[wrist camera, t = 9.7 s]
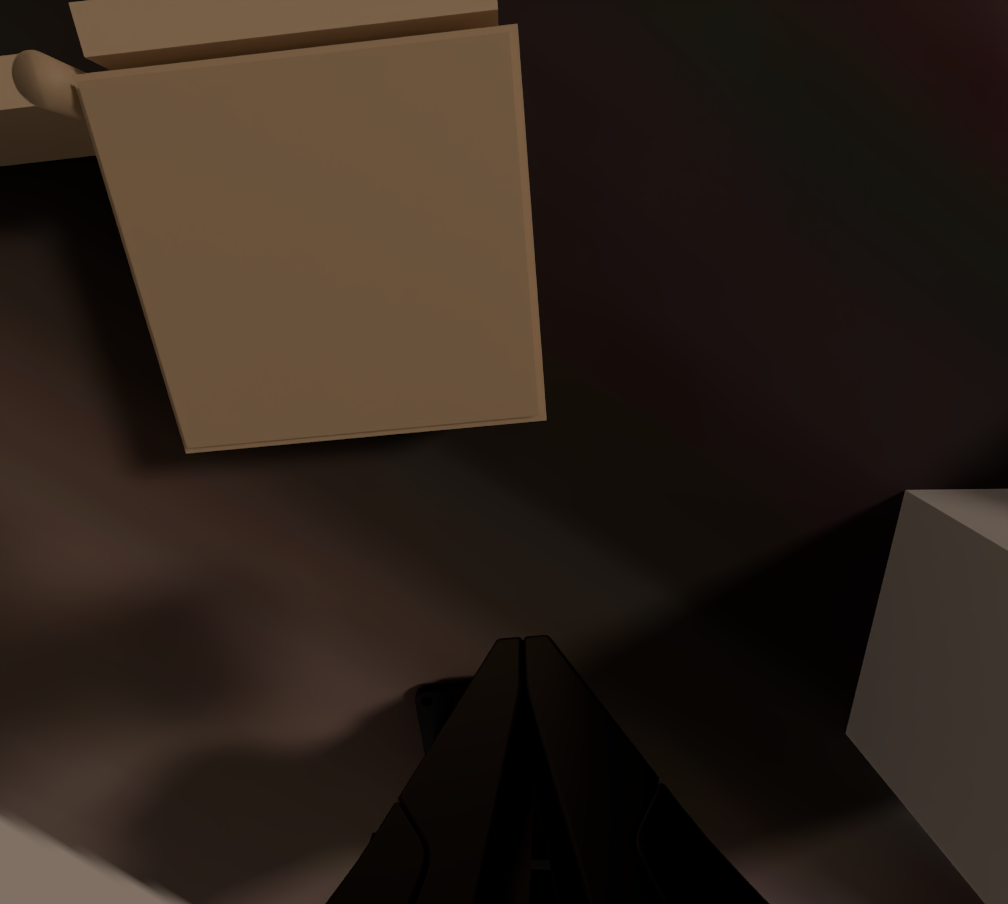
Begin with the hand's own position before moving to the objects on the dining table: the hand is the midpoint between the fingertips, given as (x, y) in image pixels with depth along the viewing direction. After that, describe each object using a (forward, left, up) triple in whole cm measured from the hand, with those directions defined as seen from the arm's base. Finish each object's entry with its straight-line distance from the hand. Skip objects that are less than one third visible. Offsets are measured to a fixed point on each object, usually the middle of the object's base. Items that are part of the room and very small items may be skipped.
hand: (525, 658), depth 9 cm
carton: (+6, +4, -12) cm, 14 cm away
